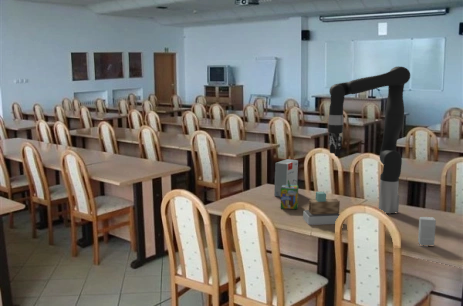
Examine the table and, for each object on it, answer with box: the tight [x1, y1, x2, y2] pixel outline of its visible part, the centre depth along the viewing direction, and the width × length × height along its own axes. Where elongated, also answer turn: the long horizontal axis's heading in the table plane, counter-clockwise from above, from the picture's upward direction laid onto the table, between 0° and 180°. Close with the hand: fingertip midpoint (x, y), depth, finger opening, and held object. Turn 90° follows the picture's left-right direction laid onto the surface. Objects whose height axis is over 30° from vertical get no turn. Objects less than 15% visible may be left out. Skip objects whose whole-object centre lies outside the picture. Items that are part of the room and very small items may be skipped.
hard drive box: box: [273, 158, 299, 198], centre depth 298 cm, size 16×8×20 cm, turn 147°
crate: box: [315, 191, 327, 202], centre depth 247 cm, size 4×4×4 cm
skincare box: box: [417, 216, 437, 246], centre depth 217 cm, size 6×4×12 cm
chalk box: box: [280, 180, 299, 210], centre depth 272 cm, size 9×9×15 cm
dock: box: [302, 209, 341, 226], centre depth 249 cm, size 16×10×4 cm, turn 97°
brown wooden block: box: [308, 198, 341, 214], centre depth 248 cm, size 14×5×6 cm, turn 97°
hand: (334, 154), depth 262 cm, fingers open, 8 cm apart
